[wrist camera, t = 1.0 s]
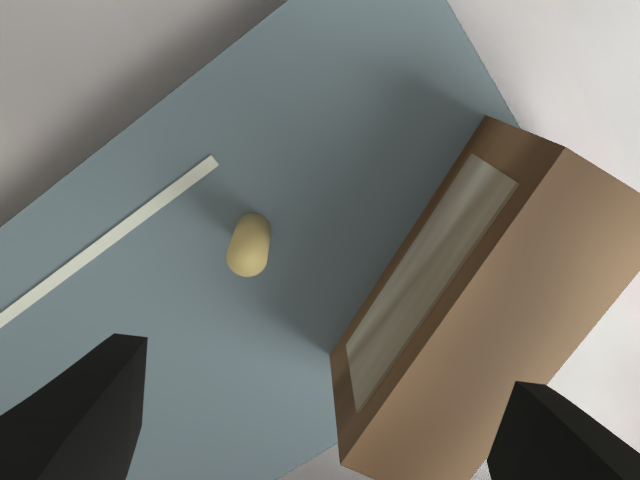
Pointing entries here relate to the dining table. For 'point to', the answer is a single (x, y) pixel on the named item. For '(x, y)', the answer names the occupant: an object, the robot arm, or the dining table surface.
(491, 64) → the dining table surface
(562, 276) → the brown box
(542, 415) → the robot arm
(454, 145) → the shelf board
